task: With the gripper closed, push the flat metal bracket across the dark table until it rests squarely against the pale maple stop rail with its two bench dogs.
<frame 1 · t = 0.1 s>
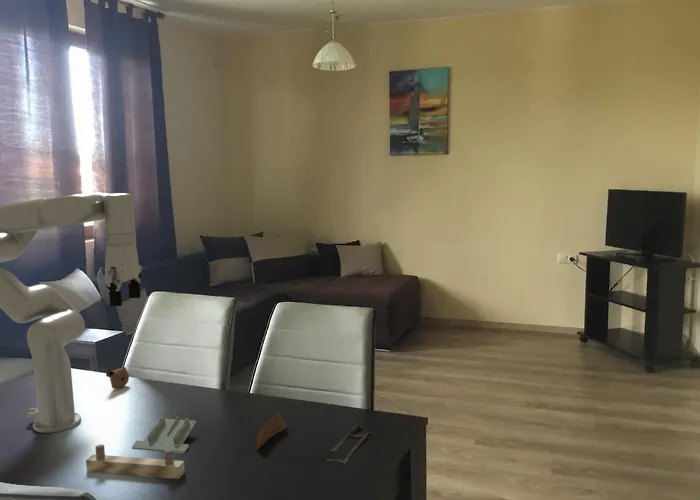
hand: (125, 301, 174), 37 cm above the table, tool pointing down, fingers open, 9 cm apart
wood plank: (271, 439, 172), on the table
metal bracket: (169, 442, 172), on the table
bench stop: (135, 472, 154), on the table
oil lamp: (117, 389, 211), on the table
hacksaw: (354, 450, 166), on the table
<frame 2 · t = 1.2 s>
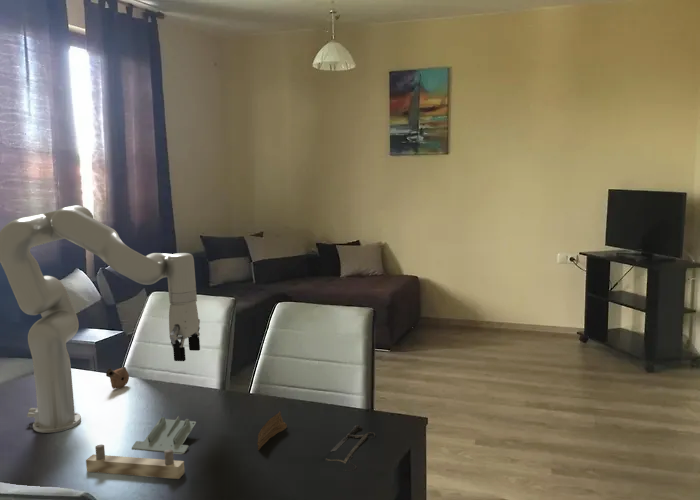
hand: (187, 355, 183), 19 cm above the table, tool pointing down, fingers open, 9 cm apart
nothing on the table moved.
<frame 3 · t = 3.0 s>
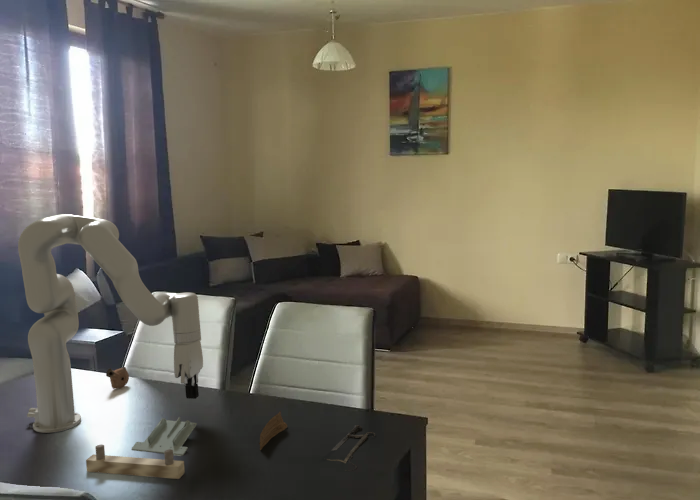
hand: (192, 397, 185), 7 cm above the table, tool pointing down, fingers closed
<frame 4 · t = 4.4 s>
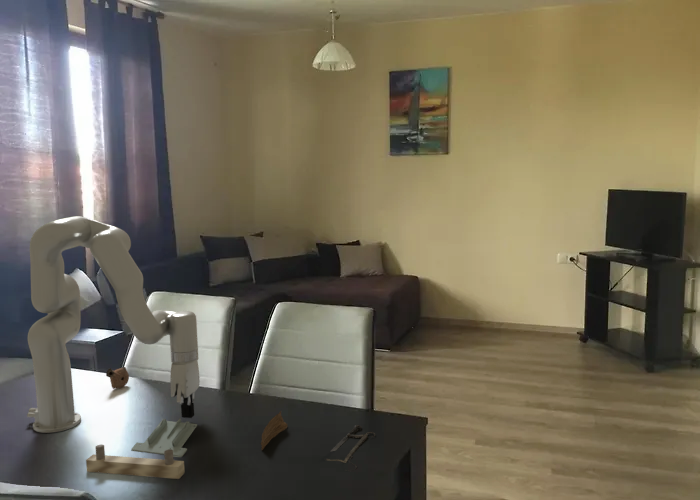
hand: (188, 416, 183), 2 cm above the table, tool pointing down, fingers closed
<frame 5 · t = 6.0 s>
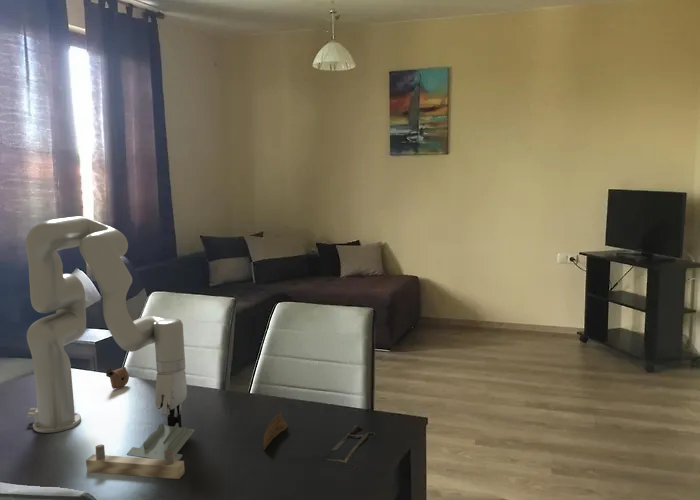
hand: (174, 428, 175), 2 cm above the table, tool pointing down, fingers closed
metal bracket: (165, 450, 167), on the table
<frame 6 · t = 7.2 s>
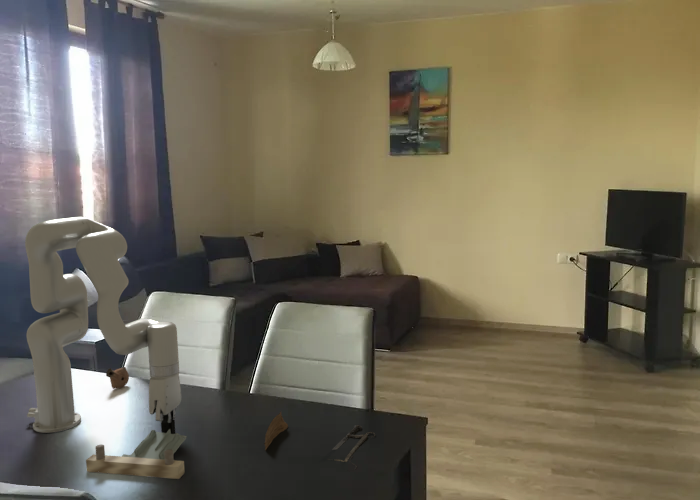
hand: (168, 434, 171), 2 cm above the table, tool pointing down, fingers closed
metal bracket: (157, 458, 164), on the table
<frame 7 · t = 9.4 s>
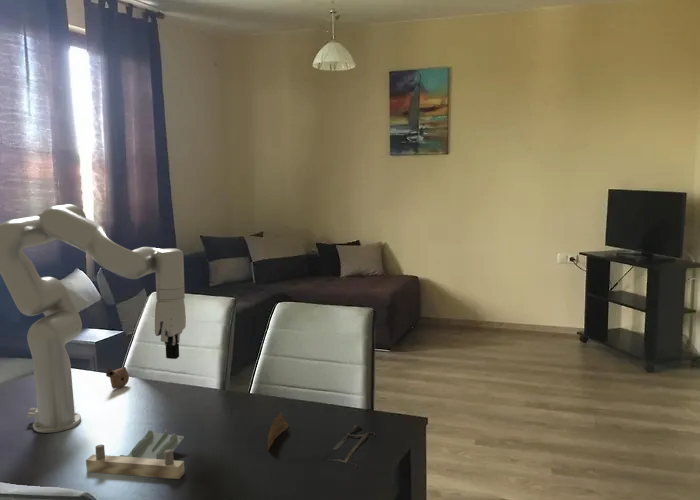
hand: (172, 357, 178), 20 cm above the table, tool pointing down, fingers closed
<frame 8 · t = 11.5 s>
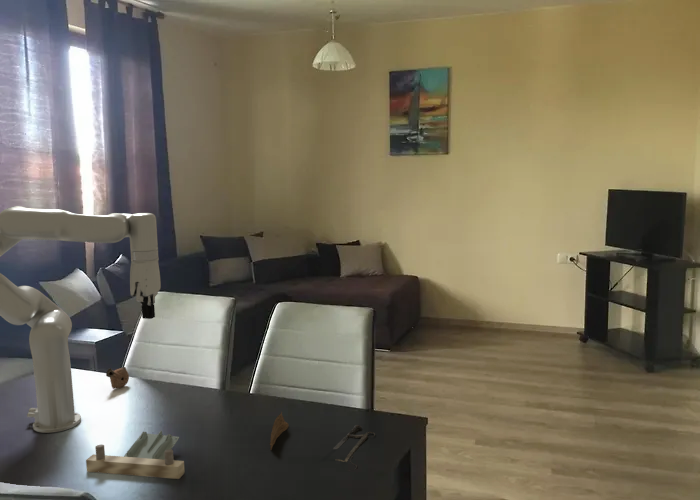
hand: (148, 317, 187), 29 cm above the table, tool pointing down, fingers closed
metal bracket: (149, 459, 162), on the table
at the end: metal bracket inside the target area (1.7 cm from its centre), on the table; metal bracket moved 10.2 cm from its start; the gripper is holding nothing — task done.
